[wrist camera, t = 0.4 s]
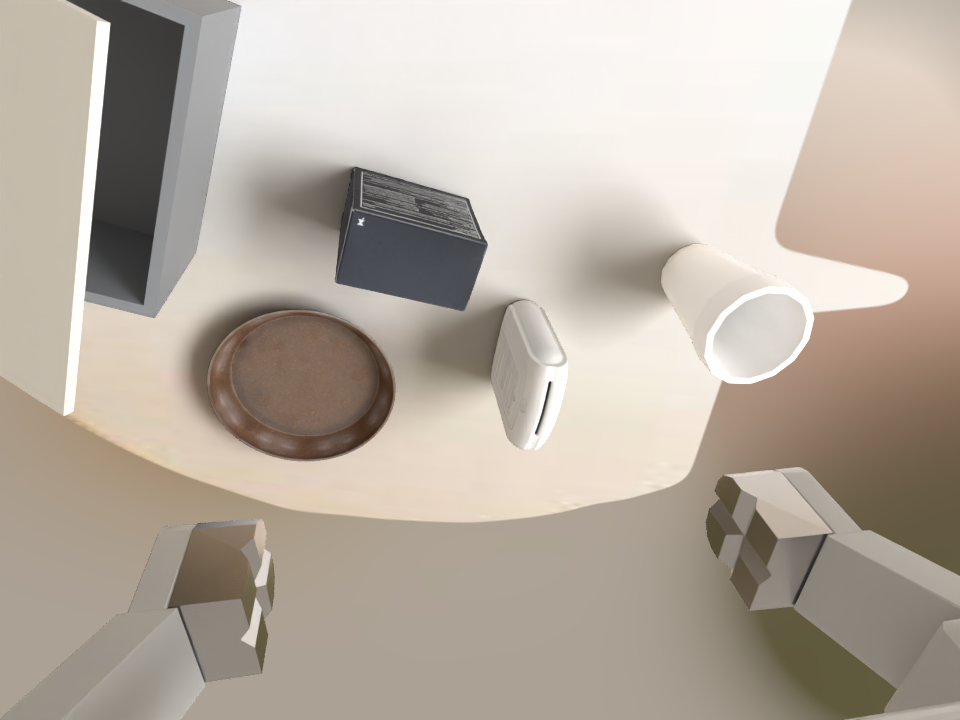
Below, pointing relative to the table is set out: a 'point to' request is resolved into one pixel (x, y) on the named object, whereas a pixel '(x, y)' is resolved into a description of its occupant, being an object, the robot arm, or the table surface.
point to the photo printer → (528, 375)
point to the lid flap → (47, 188)
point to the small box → (408, 241)
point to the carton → (155, 143)
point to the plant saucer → (301, 385)
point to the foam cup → (736, 313)
